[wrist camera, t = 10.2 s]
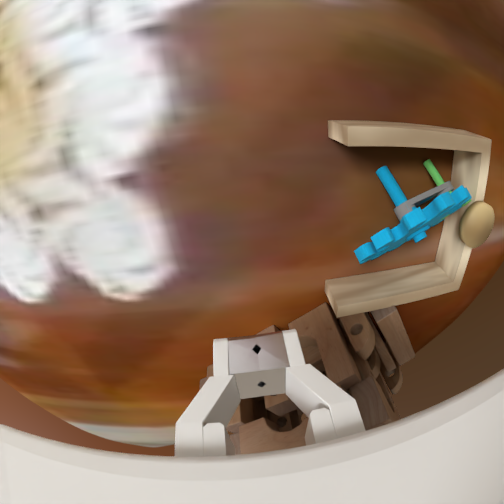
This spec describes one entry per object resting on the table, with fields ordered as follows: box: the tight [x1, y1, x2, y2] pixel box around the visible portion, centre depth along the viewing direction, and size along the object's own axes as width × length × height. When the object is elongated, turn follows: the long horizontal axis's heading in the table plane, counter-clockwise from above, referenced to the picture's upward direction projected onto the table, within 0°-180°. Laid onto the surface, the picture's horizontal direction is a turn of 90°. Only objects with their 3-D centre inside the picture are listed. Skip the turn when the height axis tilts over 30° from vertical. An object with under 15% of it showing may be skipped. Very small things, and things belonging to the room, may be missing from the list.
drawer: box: [325, 120, 494, 318], centre depth 20 cm, size 14×15×4 cm
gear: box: [354, 159, 472, 264], centre depth 19 cm, size 11×6×10 cm
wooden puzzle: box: [200, 302, 415, 455], centre depth 22 cm, size 22×15×19 cm, turn 126°
